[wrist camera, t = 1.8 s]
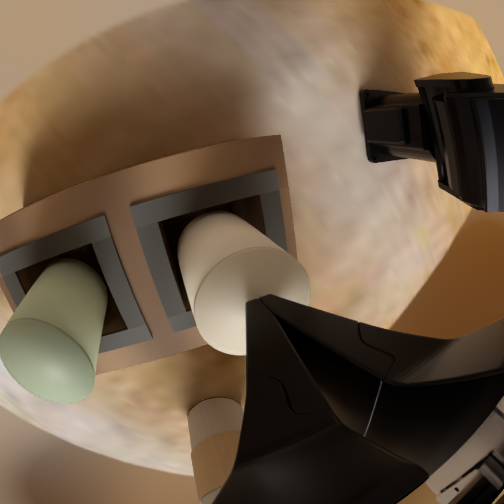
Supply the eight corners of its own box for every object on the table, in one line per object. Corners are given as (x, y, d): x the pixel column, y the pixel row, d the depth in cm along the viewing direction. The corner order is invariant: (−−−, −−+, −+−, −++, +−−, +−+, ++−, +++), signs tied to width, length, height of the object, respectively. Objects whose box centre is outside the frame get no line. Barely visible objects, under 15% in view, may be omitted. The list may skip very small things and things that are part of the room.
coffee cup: (171, 437, 25) (204, 550, 12) (172, 386, 22) (214, 536, 9) (247, 430, 29) (298, 528, 16) (265, 380, 26) (339, 499, 13)
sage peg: (90, 247, 11) (57, 309, 7) (119, 316, 13) (113, 395, 8) (28, 270, 10) (-19, 332, 6) (60, 333, 12) (38, 407, 7)
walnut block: (241, 139, 17) (282, 134, 12) (264, 270, 22) (303, 311, 16) (23, 207, 14) (-23, 233, 8) (74, 328, 18) (58, 384, 12)
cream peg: (247, 201, 13) (306, 233, 8) (260, 273, 15) (313, 331, 10) (167, 223, 12) (178, 271, 7) (189, 295, 14) (213, 369, 9)
